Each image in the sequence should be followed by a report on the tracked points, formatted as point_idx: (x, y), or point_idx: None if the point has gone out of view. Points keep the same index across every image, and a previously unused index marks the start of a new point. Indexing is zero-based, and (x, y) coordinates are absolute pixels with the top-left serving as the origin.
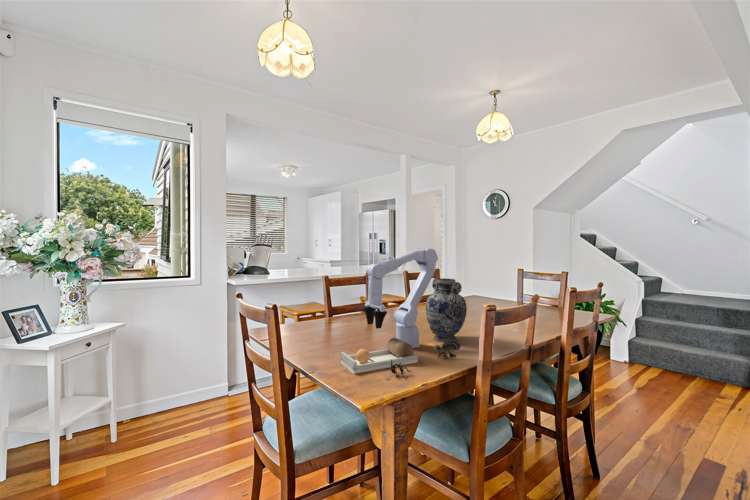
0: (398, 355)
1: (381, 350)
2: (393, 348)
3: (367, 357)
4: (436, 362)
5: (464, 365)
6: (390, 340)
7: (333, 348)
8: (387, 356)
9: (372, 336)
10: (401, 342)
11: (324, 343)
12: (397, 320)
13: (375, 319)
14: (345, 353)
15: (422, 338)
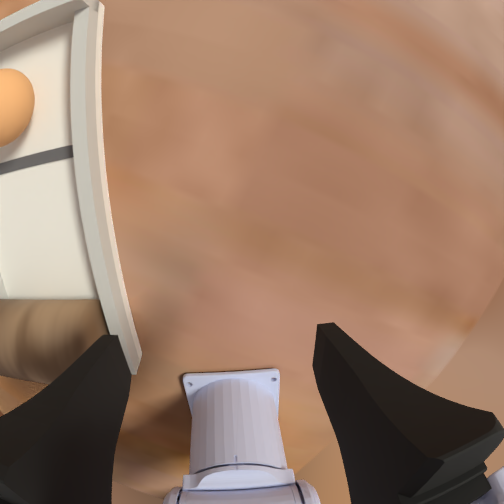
0: (8, 299)
1: (97, 261)
2: (26, 309)
3: None
4: (30, 389)
5: None
6: (71, 343)
7: (381, 49)
8: (66, 266)
9: (444, 327)
10: (5, 358)
11: (468, 63)
12: (261, 497)
13: (57, 395)
14: (50, 8)
15: (299, 462)
